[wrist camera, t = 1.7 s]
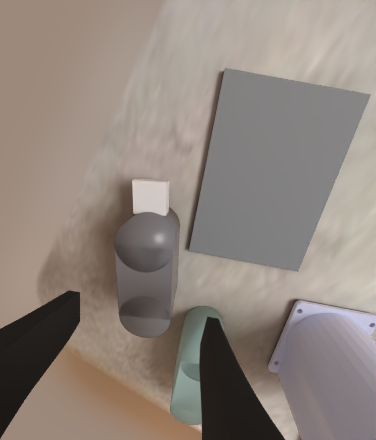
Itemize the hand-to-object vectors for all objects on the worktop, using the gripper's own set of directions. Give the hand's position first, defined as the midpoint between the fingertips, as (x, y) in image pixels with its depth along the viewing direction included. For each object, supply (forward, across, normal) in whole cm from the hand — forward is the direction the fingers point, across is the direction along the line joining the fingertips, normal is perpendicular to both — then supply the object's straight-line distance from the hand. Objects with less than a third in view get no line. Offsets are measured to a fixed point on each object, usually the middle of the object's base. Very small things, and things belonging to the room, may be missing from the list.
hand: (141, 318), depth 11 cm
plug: (+8, +1, -1) cm, 8 cm away
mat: (+8, -7, -8) cm, 13 cm away
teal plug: (+8, -5, +11) cm, 14 cm away
